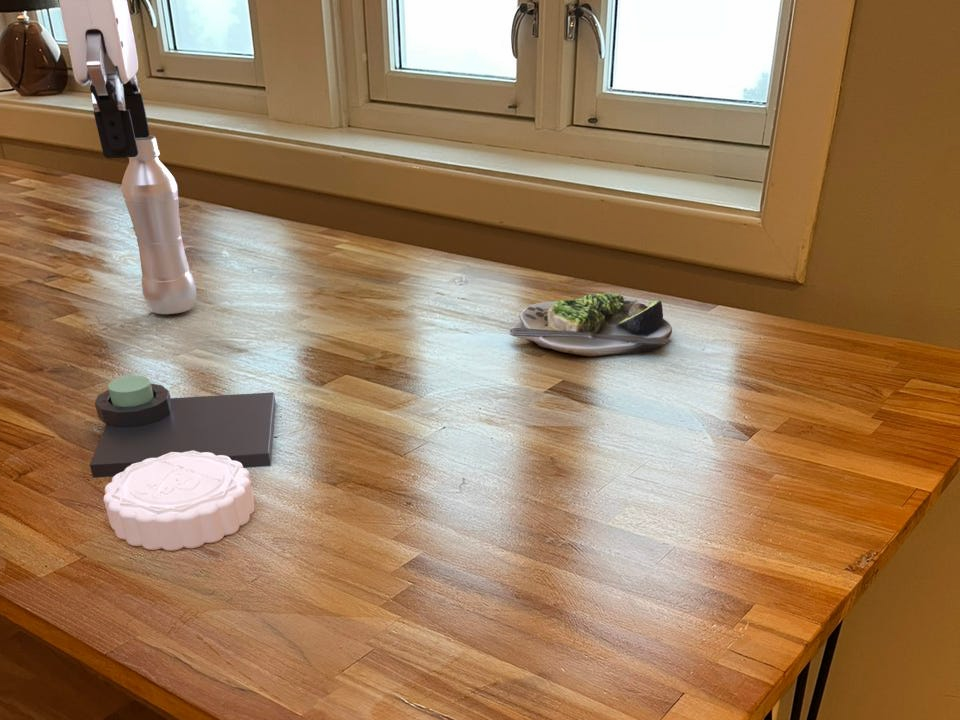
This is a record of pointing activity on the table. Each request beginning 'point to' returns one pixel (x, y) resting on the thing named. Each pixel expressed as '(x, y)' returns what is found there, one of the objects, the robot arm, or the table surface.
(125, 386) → the button
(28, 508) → the table surface
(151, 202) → the plastic bottle
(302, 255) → the table surface
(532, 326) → the salad plate
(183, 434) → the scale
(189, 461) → the mooncake
